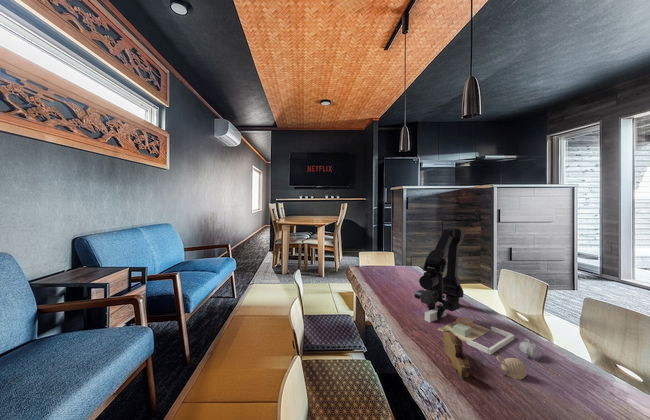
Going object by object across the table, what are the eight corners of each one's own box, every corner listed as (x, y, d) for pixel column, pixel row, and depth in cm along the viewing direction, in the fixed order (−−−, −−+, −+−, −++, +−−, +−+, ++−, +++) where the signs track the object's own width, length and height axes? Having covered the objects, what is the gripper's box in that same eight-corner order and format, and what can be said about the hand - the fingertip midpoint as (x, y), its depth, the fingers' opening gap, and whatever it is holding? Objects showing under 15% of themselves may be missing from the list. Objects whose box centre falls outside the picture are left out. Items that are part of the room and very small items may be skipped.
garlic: (516, 349, 90) (516, 334, 90) (536, 352, 88) (536, 338, 87) (521, 358, 84) (521, 343, 84) (542, 362, 82) (542, 347, 82)
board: (461, 321, 110) (461, 318, 110) (490, 333, 100) (490, 330, 100) (437, 332, 102) (437, 329, 101) (467, 347, 91) (467, 343, 91)
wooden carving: (477, 384, 73) (477, 350, 73) (461, 384, 73) (461, 350, 73) (450, 350, 89) (450, 322, 89) (437, 350, 89) (437, 323, 89)
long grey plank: (441, 316, 116) (441, 306, 116) (446, 318, 114) (446, 307, 114) (424, 323, 109) (424, 312, 109) (429, 326, 107) (429, 314, 107)
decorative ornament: (530, 381, 74) (530, 363, 74) (498, 377, 76) (498, 359, 76) (522, 372, 78) (523, 355, 78) (492, 368, 80) (492, 351, 80)
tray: (491, 333, 100) (491, 326, 100) (514, 342, 94) (514, 334, 94) (466, 347, 91) (466, 339, 91) (490, 359, 84) (490, 350, 84)
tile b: (459, 328, 102) (459, 322, 101) (471, 333, 98) (471, 327, 98) (453, 331, 99) (453, 325, 99) (464, 337, 95) (464, 330, 95)
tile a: (462, 322, 107) (462, 316, 107) (472, 326, 103) (473, 320, 103) (455, 325, 104) (455, 319, 104) (466, 329, 101) (466, 323, 101)
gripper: (406, 281, 115) (406, 315, 115) (444, 293, 99) (444, 333, 99) (422, 277, 121) (422, 309, 121) (460, 288, 105) (460, 325, 105)
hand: (435, 318), depth 111 cm, fingers closed on long grey plank, 2 cm apart
